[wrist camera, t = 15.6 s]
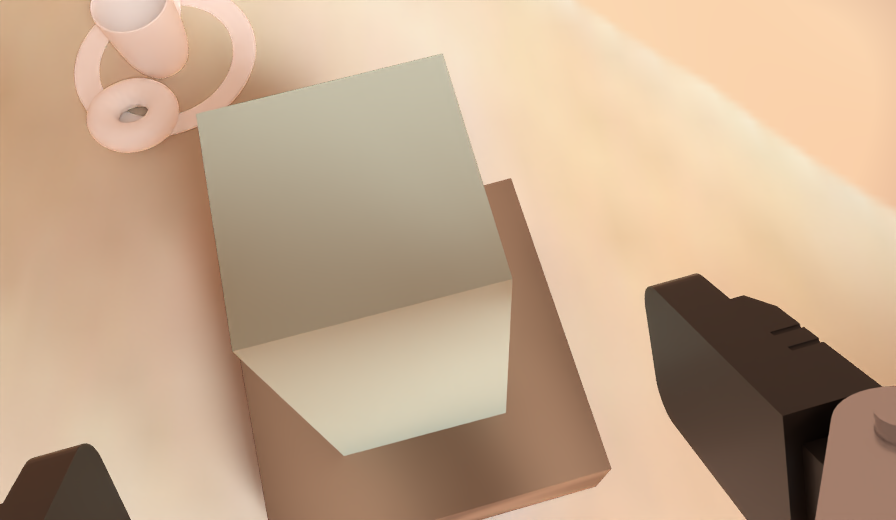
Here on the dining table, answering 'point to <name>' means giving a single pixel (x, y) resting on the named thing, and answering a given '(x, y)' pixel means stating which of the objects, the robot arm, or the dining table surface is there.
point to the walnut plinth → (457, 448)
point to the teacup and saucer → (152, 69)
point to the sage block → (361, 254)
